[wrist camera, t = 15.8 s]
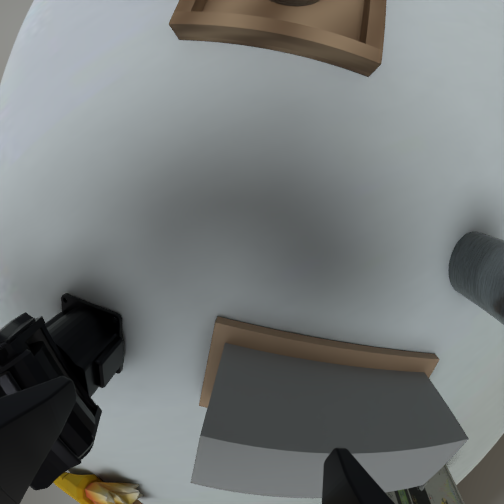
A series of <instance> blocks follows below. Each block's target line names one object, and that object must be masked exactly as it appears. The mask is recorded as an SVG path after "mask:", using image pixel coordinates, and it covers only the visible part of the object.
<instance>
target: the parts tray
mask: <svg viewBox="0 0 504 504" xmlns="http://www.w3.org/2000/svg"><path fill="white" fill-rule="evenodd" d="M385 16H386V0H320V1H318V2H316V3H314V4H311V5H306V6H287V5H282V4H278V3H275V2H272V1H270V0H179V2H178V5H177V7H176V9H175V11H174V13H173V15H172V18H171V20H170V22H169V25H170V27H171V28H172V30H173V31H174V33H175V34H176V36H177V37H178V39H179V40H197V41H212V42H223V43H232V44H240V45H247V46H254V47H260V48H266V49H271V50H276V51H281V52H286V53H290V54H295V55H299V56H303V57H307V58H311V59H315V60H318V61H322V62H325V63H329V64H332V65H335V66H339V67H342V68H345V69H348V70H351V71H354V72H356V73H359V74H362V75H365V76H367V77H369V76H370V75H371V74H372V73H373V72H374V71H375V70H376V69H377V68H378V67H379V66H380V65H381V61H382V52H383V42H384V30H385Z"/></svg>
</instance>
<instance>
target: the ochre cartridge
mask: <svg viewBox="0 0 504 504" xmlns="http://www.w3.org/2000/svg"><path fill="white" fill-rule="evenodd" d="M270 1H272V2H275V3H278V4H282V5H287V6H306V5H311V4H314V3H316V2H318V1H320V0H270Z"/></svg>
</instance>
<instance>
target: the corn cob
mask: <svg viewBox="0 0 504 504" xmlns="http://www.w3.org/2000/svg"><path fill="white" fill-rule="evenodd" d="M53 483H55V485H57V486H58V487H59V488H61V489H62V490H63V491H64V492H66V493H67V494H68V495H70V496H71V497H72V498H74V499H75V500H77V501H78V502H79V503H80V504H143V503H141V502H140V501H139V500H137V499H138V498H140V497H141V496H143V495H142V494H140V492H138V491H139V490H136V488H137V487H138V486H139V484H131V483H105V482H103V481H102V480H101V479H99V478H98V477H97V476H96V475H95V474H91V475H76V474H71V473H67V472H64V473H62V474H61V475H60V476H59V477H58V478H57V479H56V480H55V481H54V482H53Z"/></svg>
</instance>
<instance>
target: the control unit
mask: <svg viewBox="0 0 504 504" xmlns="http://www.w3.org/2000/svg"><path fill="white" fill-rule="evenodd" d="M438 361H439V358H438V357H437V356H436V355H435V354H431V353H421V352H411V351H402V350H394V349H386V348H378V347H371V346H364V345H357V344H351V343H345V342H339V341H333V340H327V339H321V338H316V337H310V336H305V335H300V334H295V333H290V332H285V331H280V330H275V329H270V328H266V327H261V326H257V325H252V324H248V323H244V322H239V321H235V320H231V319H227V318H223V317H219V316H217V319H216V322H215V326H214V331H213V336H212V341H211V346H210V351H209V356H208V361H207V366H206V371H205V377H204V382H203V387H202V392H201V398H200V403H199V406H202V407H206V408H207V412H206V416H205V420H204V423H203V427H202V431H201V435H200V439H199V444H198V449H197V454H196V459H195V464H194V469H193V474H192V479H191V483H193V484H197V485H202V486H206V487H211V488H216V489H221V490H227V491H232V492H239V493H246V494H254V495H263V496H274V497H290V498H322V488H323V468H324V462H325V460H326V458H327V457H328V456H329V454H330V453H331V452H332V450H333V449H334V448H347V449H348V450H349V451H350V453H351V454H352V455H353V456H354V457H355V458H356V460H357V461H358V462H359V463H360V464H361V466H362V467H363V468H364V469H365V470H366V471H367V472H368V474H369V475H370V476H371V477H372V478H373V479H374V480H375V482H376V483H377V484H378V485H379V486H380V487H381V488H382V489H383V491H384V492H392V491H397V490H403V489H408V488H412V487H417V486H421V485H424V484H425V483H426V482H427V481H428V480H429V479H430V478H431V477H433V476H434V475H435V474H436V473H437V472H438V471H439V470H440V469H441V468H442V467H443V466H444V465H445V464H446V463H447V462H448V461H449V460H450V459H451V458H452V457H453V456H454V455H455V454H456V453H457V451H458V450H459V449H460V448H461V447H462V446H463V445H464V444H465V443H466V441H467V440H468V437H467V435H466V434H465V432H464V430H463V429H462V427H461V426H460V424H459V423H458V421H457V419H456V418H455V416H454V415H453V413H452V412H451V410H450V409H449V407H448V406H447V404H446V403H445V401H444V400H443V398H442V397H441V395H440V394H439V392H438V391H437V389H436V388H435V387H434V385H433V384H432V382H431V381H430V379H429V377H430V375H431V373H432V372H433V370H434V368H435V367H436V365H437V363H438Z"/></svg>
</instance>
